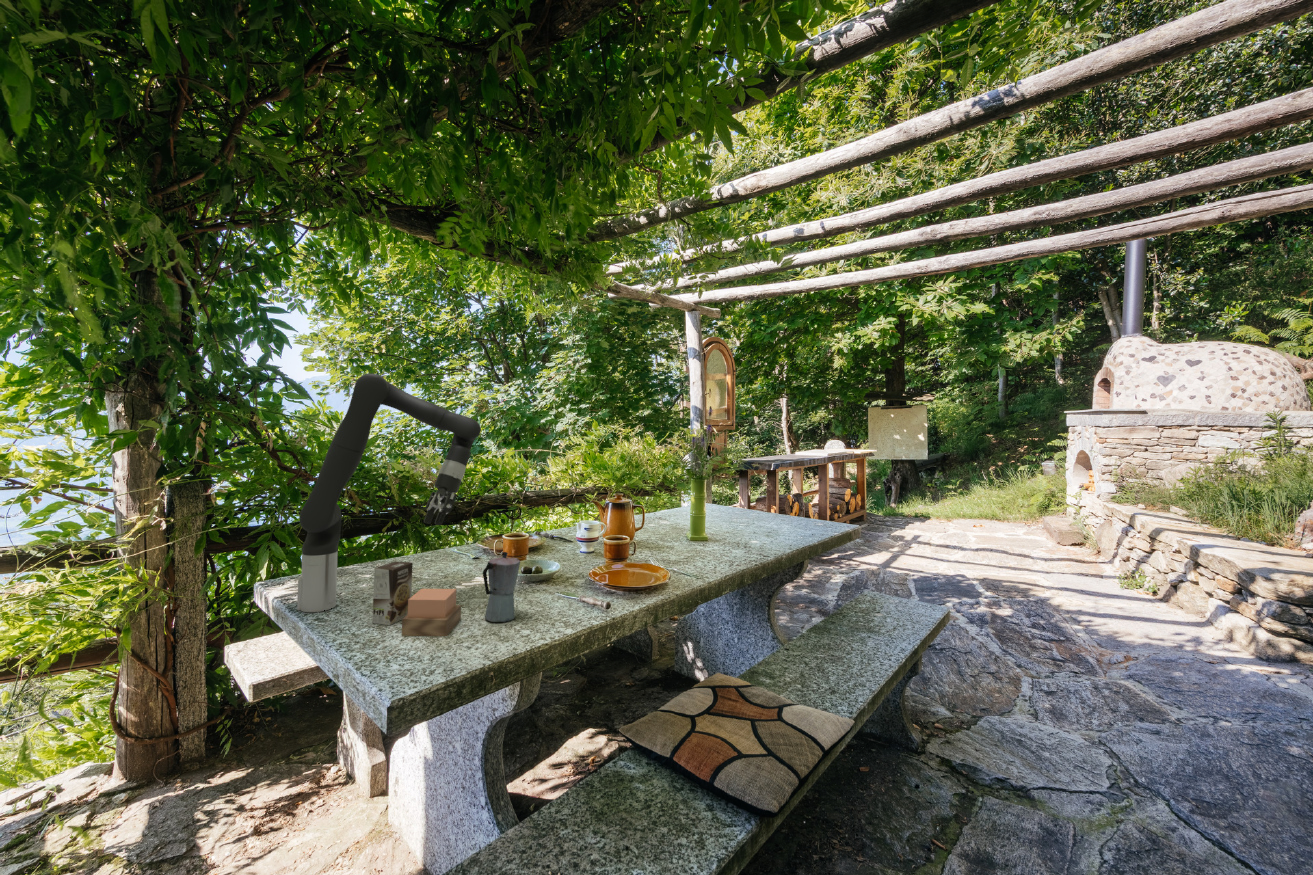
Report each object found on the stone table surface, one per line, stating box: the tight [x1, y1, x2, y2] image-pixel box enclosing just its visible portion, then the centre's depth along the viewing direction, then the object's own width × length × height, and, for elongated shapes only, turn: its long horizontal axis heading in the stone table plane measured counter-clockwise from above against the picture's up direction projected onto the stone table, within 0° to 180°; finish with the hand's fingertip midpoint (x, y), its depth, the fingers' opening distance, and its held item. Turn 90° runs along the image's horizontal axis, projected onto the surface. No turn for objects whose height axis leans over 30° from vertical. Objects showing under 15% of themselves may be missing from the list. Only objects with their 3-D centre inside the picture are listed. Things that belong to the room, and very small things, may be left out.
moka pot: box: [482, 551, 521, 623], centre depth 157 cm, size 10×15×20 cm, turn 161°
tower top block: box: [408, 588, 457, 618], centre depth 149 cm, size 10×10×5 cm
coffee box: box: [371, 561, 413, 626], centre depth 154 cm, size 9×6×16 cm
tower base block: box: [401, 604, 462, 637], centre depth 148 cm, size 12×12×5 cm
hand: (432, 524), depth 166 cm, fingers open, 8 cm apart
